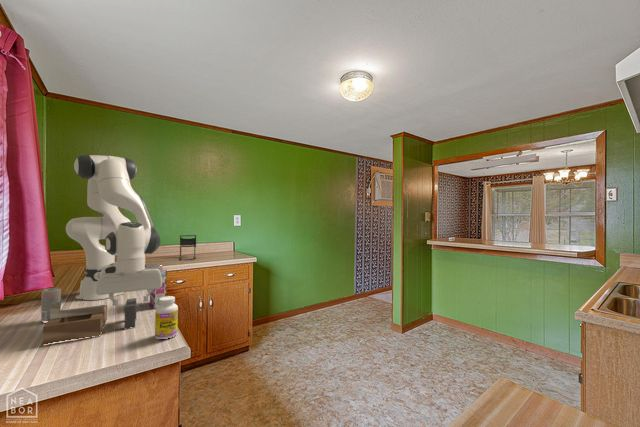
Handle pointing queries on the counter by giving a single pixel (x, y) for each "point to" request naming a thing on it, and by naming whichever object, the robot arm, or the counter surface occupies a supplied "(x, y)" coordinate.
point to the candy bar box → (159, 291)
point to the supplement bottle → (166, 318)
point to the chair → (187, 242)
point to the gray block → (130, 313)
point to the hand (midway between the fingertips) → (130, 303)
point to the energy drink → (49, 301)
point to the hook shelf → (74, 323)
